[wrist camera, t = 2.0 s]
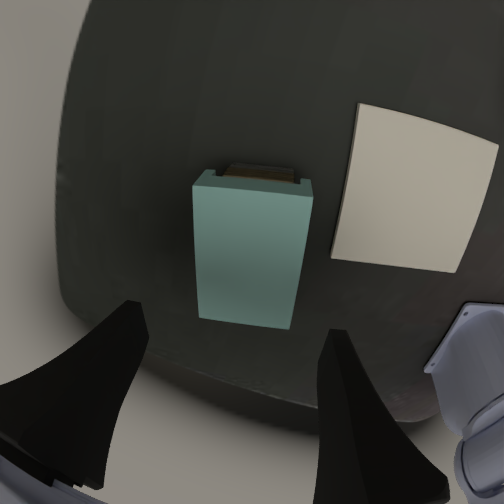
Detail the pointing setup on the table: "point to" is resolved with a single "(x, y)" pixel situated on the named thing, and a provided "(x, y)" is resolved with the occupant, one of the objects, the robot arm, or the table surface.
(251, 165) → the grey and brown box
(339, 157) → the table surface
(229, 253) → the lid
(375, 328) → the table surface
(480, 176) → the mat
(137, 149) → the table surface
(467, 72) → the table surface
